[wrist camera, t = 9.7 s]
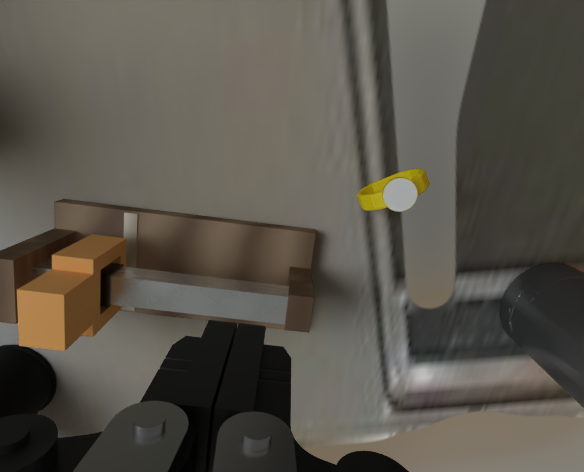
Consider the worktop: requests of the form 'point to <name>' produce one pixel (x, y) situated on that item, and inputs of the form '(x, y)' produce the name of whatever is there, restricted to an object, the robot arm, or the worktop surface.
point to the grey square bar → (188, 293)
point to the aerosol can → (24, 381)
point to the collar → (68, 295)
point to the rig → (175, 253)
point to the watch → (394, 191)
